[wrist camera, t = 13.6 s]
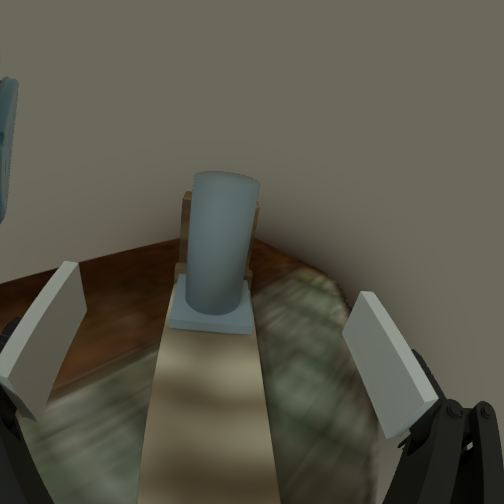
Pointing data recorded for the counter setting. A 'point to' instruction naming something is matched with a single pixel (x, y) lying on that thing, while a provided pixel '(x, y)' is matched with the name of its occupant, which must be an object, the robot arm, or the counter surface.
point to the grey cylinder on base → (217, 256)
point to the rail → (207, 413)
